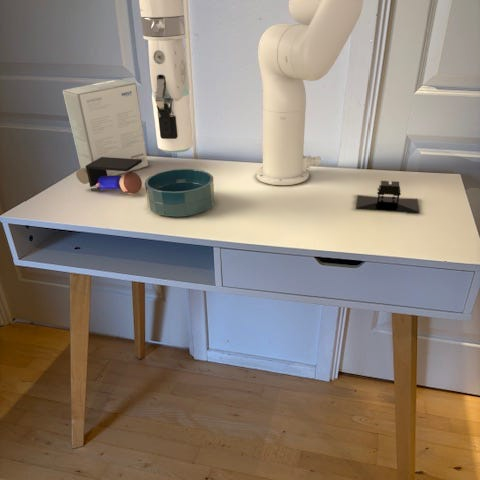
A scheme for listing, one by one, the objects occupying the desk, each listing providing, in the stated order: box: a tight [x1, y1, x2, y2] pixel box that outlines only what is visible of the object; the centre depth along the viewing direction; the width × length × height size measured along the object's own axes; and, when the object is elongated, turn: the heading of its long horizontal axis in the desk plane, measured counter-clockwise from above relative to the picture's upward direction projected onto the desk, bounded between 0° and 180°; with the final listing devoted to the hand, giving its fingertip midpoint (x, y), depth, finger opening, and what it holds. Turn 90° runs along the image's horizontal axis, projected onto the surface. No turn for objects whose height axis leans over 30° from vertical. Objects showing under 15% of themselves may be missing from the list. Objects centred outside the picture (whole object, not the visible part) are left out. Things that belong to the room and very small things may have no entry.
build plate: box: [355, 180, 420, 215], centre depth 101 cm, size 12×7×5 cm, turn 76°
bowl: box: [144, 168, 216, 217], centre depth 104 cm, size 14×14×6 cm
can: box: [151, 84, 194, 154], centre depth 96 cm, size 7×7×12 cm
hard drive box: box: [62, 78, 149, 176], centre depth 120 cm, size 16×8×20 cm, turn 133°
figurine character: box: [75, 157, 143, 195], centre depth 112 cm, size 7×8×15 cm
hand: (174, 132), depth 97 cm, fingers closed on can, 7 cm apart
